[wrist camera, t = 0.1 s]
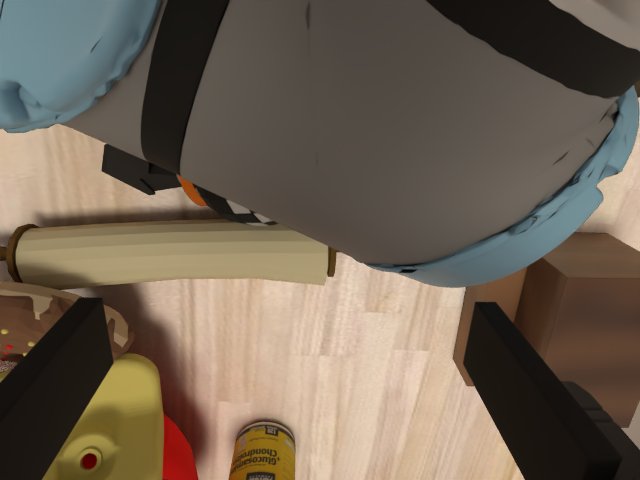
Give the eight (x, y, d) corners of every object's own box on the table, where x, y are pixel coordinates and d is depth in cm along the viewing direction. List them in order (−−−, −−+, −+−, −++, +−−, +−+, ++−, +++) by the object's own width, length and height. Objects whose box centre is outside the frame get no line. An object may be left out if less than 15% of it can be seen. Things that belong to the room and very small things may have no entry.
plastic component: (160, 523, 31) (164, 412, 39) (149, 452, 27) (156, 349, 36) (-203, 609, 25) (-106, 458, 33) (-271, 533, 22) (-145, 387, 30)
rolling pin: (376, 207, 37) (387, 227, 32) (373, 265, 39) (383, 293, 34) (-12, 212, 36) (-58, 234, 31) (7, 272, 38) (-34, 302, 33)
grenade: (291, 17, 24) (79, 75, 28) (292, 174, 21) (59, 211, 26) (344, 119, 34) (183, 150, 39) (349, 233, 32) (176, 252, 36)
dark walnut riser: (477, 230, 38) (526, 277, 30) (606, 232, 39) (690, 279, 31) (452, 359, 44) (488, 429, 35) (567, 359, 44) (628, 428, 36)
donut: (-103, 262, 30) (-144, 334, 28) (80, 276, 28) (52, 353, 26) (34, 318, 43) (13, 370, 41) (165, 330, 41) (151, 384, 39)
